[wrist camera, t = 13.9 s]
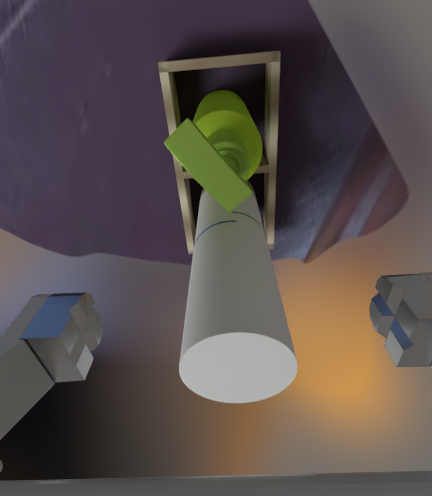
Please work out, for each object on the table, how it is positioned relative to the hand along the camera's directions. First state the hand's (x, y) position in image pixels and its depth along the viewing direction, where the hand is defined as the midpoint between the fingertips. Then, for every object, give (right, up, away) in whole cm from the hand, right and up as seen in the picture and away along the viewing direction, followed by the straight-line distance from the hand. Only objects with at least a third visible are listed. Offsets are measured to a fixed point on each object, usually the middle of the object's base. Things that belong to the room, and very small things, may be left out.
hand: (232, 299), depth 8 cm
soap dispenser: (0, +16, +24) cm, 30 cm away
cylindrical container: (+1, +8, +30) cm, 31 cm away
